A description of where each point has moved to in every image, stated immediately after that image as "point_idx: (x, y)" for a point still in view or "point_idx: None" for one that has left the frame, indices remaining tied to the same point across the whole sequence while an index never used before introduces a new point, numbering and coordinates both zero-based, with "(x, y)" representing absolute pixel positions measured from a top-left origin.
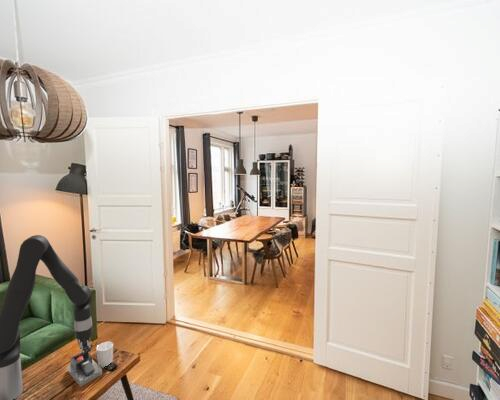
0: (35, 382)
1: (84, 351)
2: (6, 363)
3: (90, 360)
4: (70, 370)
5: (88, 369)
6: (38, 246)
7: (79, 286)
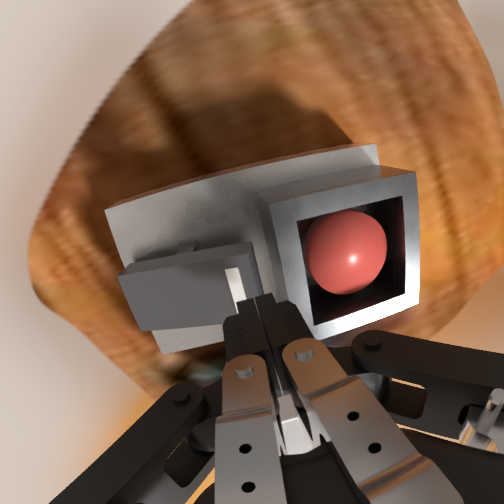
0: None
1: (192, 407)
2: None
3: None
4: (313, 153)
5: (150, 293)
6: None
7: None
